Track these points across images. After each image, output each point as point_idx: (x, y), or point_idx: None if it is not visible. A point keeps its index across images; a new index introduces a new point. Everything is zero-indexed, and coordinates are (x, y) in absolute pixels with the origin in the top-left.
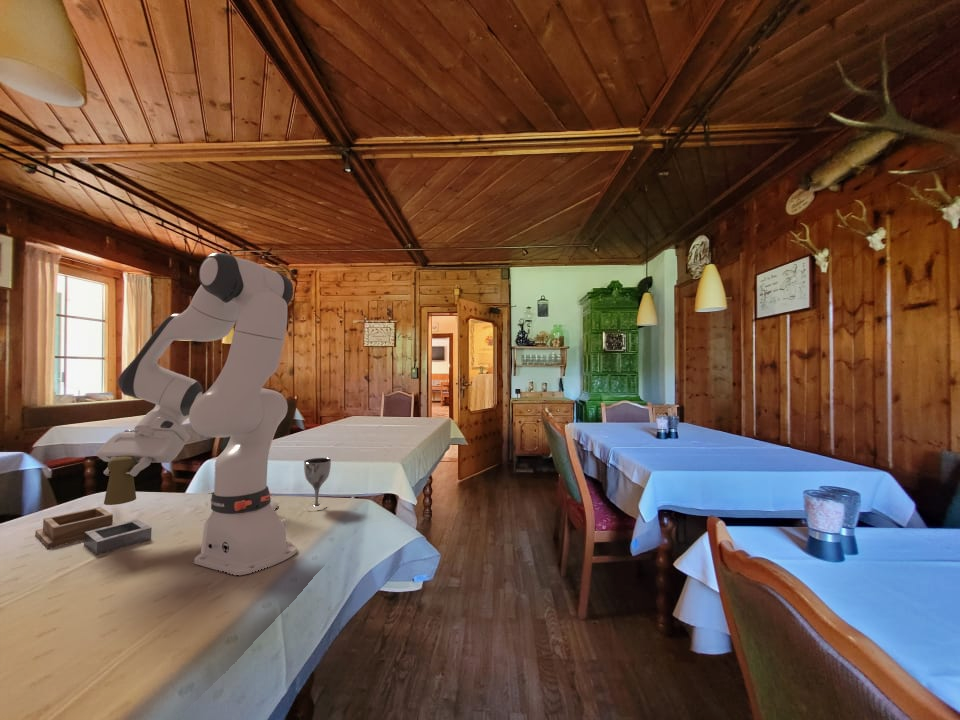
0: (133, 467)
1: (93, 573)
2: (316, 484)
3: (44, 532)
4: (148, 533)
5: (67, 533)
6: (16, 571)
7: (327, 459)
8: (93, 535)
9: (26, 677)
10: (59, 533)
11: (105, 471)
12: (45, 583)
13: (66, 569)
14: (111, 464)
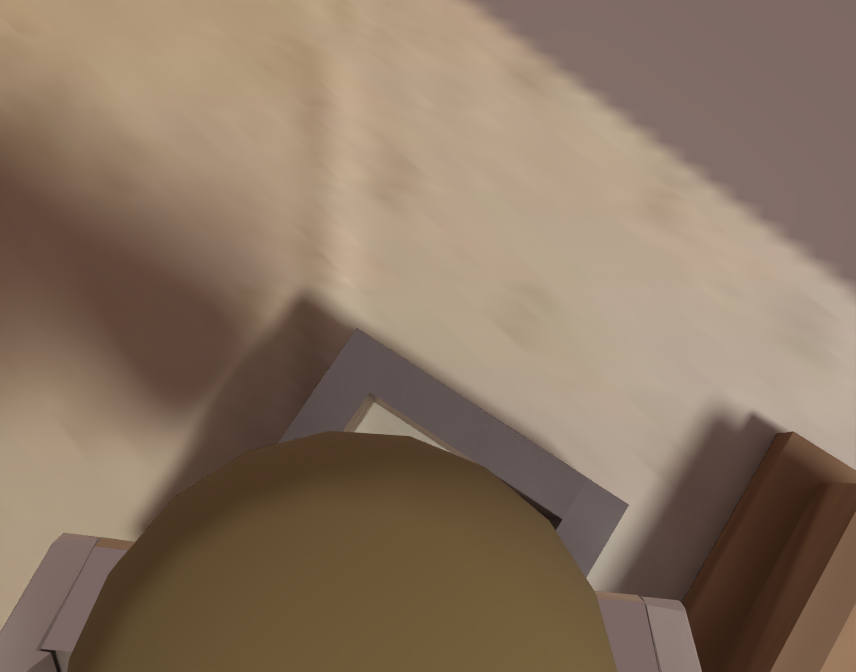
0: (40, 638)
1: (171, 131)
2: None
3: None
4: None
5: (797, 549)
6: (620, 150)
7: None
8: (492, 439)
9: None
10: (824, 510)
11: (646, 603)
12: (325, 37)
13: (366, 172)
14: (384, 443)
